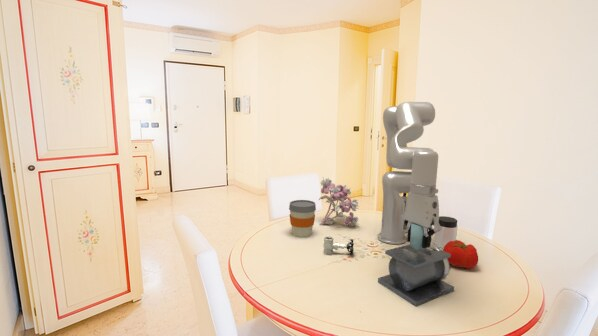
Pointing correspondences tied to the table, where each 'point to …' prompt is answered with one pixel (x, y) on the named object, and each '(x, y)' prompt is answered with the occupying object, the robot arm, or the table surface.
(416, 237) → the teal cylinder with cap
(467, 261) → the tomato
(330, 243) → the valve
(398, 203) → the robot arm
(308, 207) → the reusable coffee cup
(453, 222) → the jar
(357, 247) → the table surface
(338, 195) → the flower
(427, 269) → the motor
